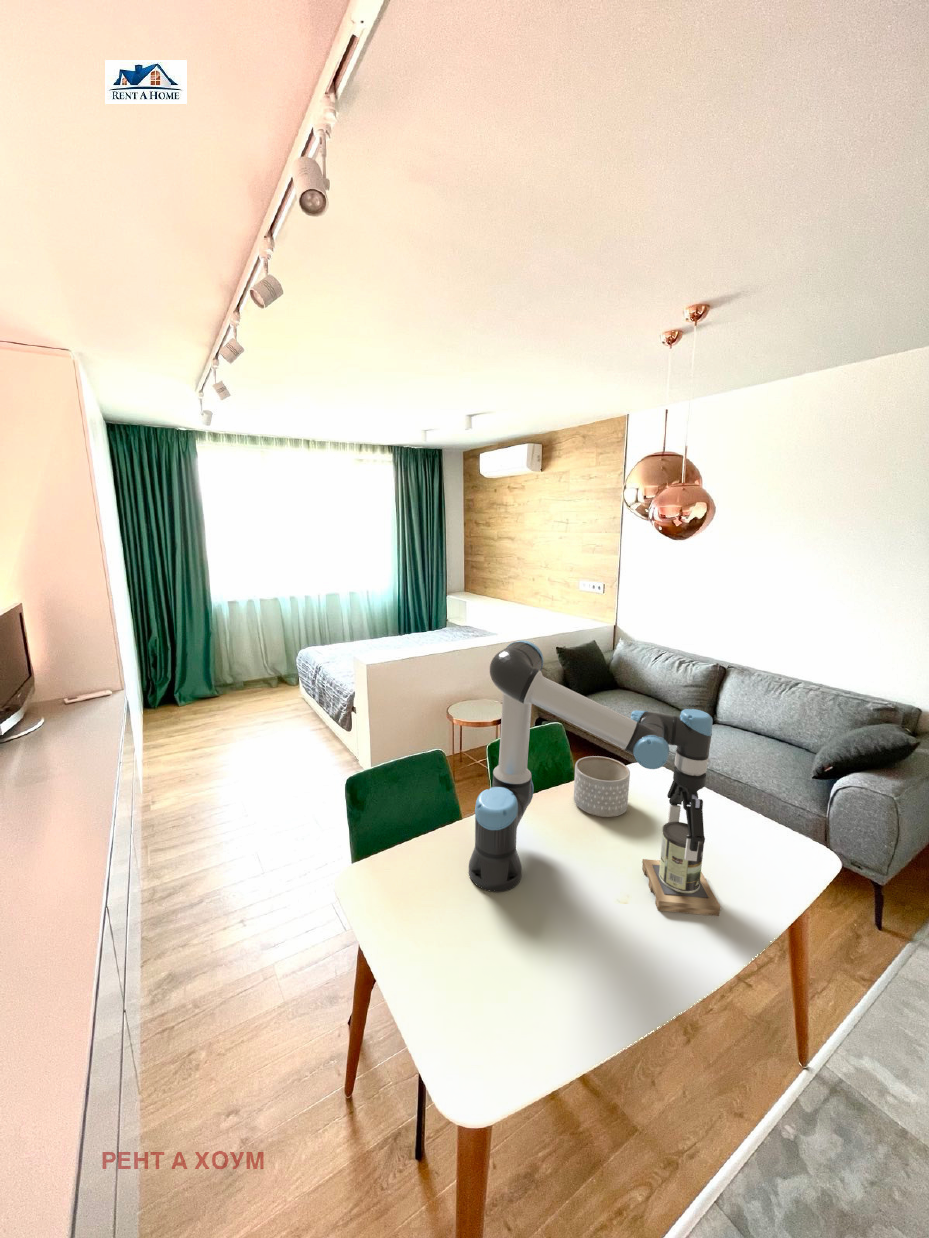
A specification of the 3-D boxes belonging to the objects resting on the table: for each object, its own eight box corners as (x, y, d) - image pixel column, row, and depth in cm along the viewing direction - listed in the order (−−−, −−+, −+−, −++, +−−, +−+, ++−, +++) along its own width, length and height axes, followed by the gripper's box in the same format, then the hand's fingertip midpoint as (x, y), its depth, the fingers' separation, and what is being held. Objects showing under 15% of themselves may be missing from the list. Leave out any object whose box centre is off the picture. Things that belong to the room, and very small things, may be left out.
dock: (658, 911, 120) (659, 899, 120) (641, 868, 136) (642, 857, 135) (719, 916, 118) (720, 905, 118) (695, 872, 134) (696, 862, 134)
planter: (593, 786, 181) (595, 751, 178) (637, 807, 167) (640, 770, 164) (562, 802, 169) (564, 766, 167) (607, 827, 155) (610, 787, 152)
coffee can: (693, 869, 131) (698, 823, 128) (704, 896, 121) (710, 847, 118) (654, 864, 133) (659, 818, 130) (662, 890, 123) (667, 842, 120)
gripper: (726, 796, 108) (715, 877, 112) (688, 748, 133) (679, 816, 137) (692, 793, 109) (682, 873, 113) (660, 746, 134) (653, 813, 137)
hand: (681, 842), depth 125 cm, fingers open, 13 cm apart
